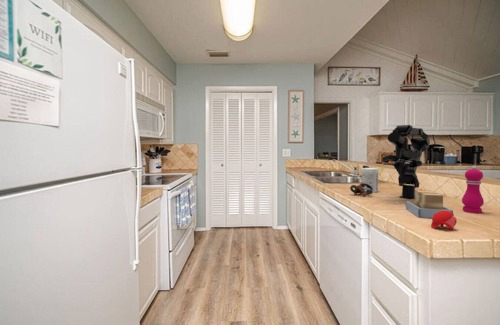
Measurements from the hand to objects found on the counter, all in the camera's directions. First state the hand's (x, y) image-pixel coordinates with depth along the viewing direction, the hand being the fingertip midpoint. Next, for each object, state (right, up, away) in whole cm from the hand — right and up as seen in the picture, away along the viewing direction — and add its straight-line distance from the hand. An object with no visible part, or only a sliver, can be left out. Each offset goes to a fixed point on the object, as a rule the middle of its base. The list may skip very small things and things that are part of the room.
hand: (402, 177), depth 130 cm
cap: (-10, -15, -41) cm, 45 cm away
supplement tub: (-1, -11, +34) cm, 36 cm away
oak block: (-2, -14, -22) cm, 26 cm away
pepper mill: (+20, -14, -18) cm, 30 cm away
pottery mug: (-12, -12, +20) cm, 26 cm away
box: (-2, -14, -22) cm, 26 cm away
